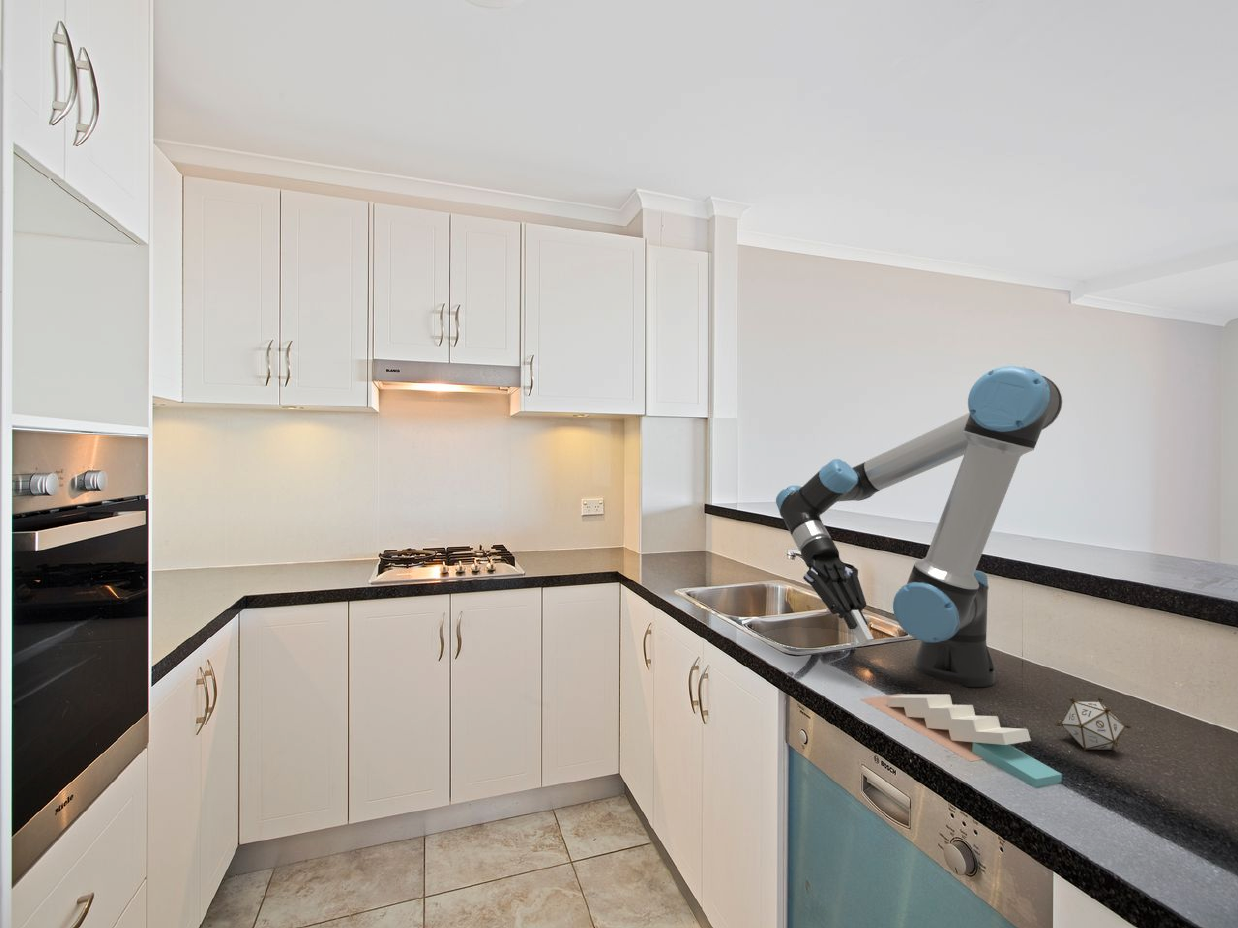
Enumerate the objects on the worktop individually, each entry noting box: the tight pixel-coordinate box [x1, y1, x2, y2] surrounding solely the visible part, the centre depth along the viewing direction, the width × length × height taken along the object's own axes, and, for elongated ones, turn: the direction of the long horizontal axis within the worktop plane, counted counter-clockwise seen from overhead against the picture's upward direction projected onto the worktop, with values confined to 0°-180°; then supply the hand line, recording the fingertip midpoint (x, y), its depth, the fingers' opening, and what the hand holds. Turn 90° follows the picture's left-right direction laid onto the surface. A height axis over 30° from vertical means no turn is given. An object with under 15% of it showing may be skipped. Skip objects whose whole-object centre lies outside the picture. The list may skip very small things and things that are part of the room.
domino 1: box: [886, 694, 953, 708], centre depth 105 cm, size 2×5×10 cm
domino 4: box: [949, 726, 1032, 745], centre depth 92 cm, size 2×5×10 cm
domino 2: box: [904, 704, 976, 719], centre depth 101 cm, size 2×5×10 cm
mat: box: [860, 693, 984, 763], centre depth 102 cm, size 24×10×1 cm, turn 18°
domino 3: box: [925, 715, 1001, 731], centre depth 97 cm, size 2×5×10 cm
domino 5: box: [972, 742, 1063, 788], centre depth 88 cm, size 2×5×10 cm
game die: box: [1054, 696, 1133, 753], centre depth 95 cm, size 9×8×10 cm
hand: (867, 642), depth 118 cm, fingers closed
